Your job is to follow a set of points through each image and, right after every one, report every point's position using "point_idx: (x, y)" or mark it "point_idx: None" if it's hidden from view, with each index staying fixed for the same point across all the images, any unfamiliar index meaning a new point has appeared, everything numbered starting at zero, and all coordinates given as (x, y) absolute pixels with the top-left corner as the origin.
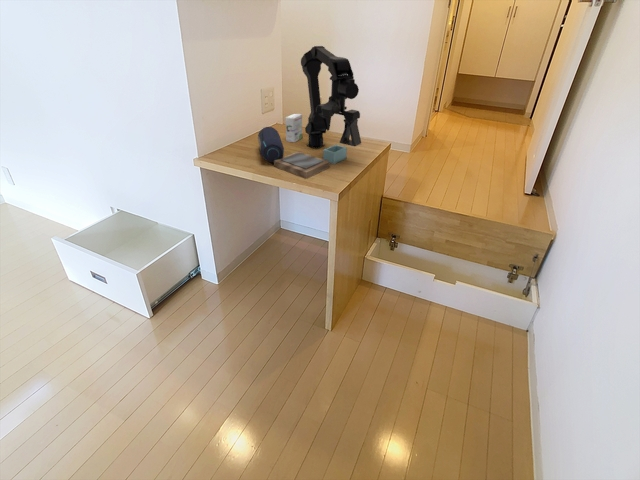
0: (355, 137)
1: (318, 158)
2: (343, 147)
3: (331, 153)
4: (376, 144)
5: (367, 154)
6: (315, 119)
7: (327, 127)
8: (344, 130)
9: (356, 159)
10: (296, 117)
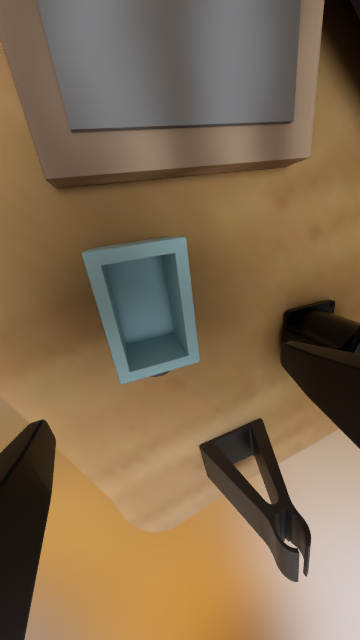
0: (223, 479)
1: (148, 160)
2: (137, 370)
3: (110, 248)
4: (165, 508)
5: (105, 448)
6: None
7: (311, 356)
8: (2, 476)
9: (82, 384)
10: None
